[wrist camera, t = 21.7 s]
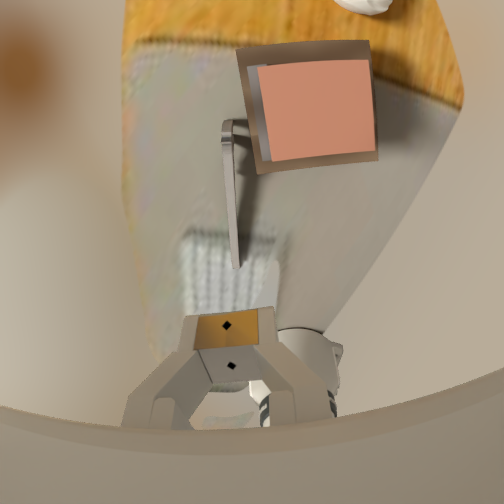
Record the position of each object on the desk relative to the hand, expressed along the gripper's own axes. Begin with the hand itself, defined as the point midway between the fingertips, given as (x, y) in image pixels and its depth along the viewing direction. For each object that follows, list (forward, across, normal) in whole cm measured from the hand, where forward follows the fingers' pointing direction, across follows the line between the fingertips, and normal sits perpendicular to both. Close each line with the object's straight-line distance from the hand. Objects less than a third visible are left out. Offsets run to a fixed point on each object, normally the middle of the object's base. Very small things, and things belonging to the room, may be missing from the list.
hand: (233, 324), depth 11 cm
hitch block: (+29, -7, -4) cm, 30 cm away
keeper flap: (+19, -7, -4) cm, 21 cm away
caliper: (+30, +3, +8) cm, 31 cm away
